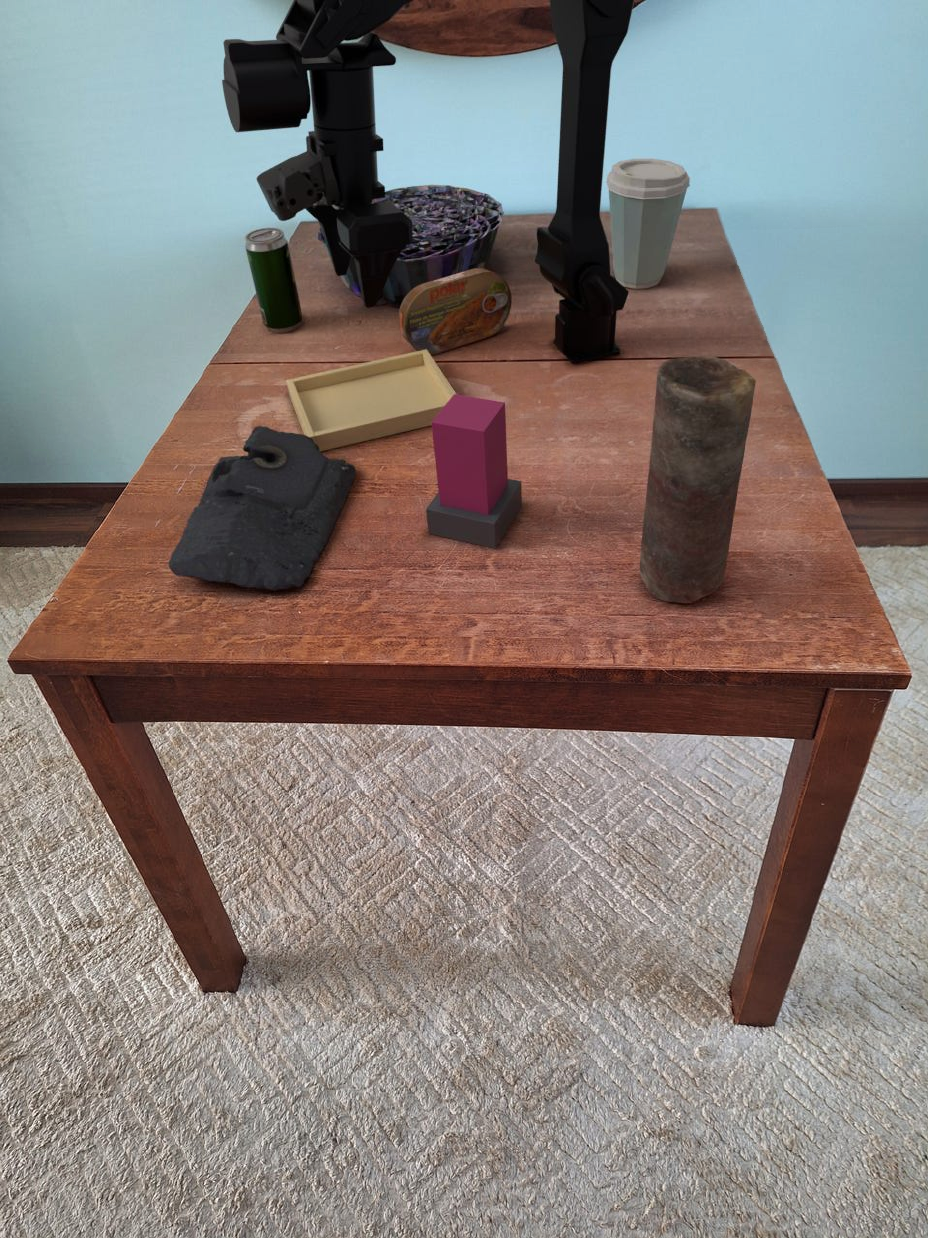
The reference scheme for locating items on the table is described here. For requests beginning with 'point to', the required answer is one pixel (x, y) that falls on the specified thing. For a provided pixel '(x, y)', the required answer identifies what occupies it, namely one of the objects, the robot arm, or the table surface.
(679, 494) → the stone cylinder vase
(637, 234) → the disposable coffee cup
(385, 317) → the table surface
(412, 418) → the tray
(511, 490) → the base block
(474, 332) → the tin
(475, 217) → the decorative bowl
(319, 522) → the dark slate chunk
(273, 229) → the beer can
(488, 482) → the mulberry block
